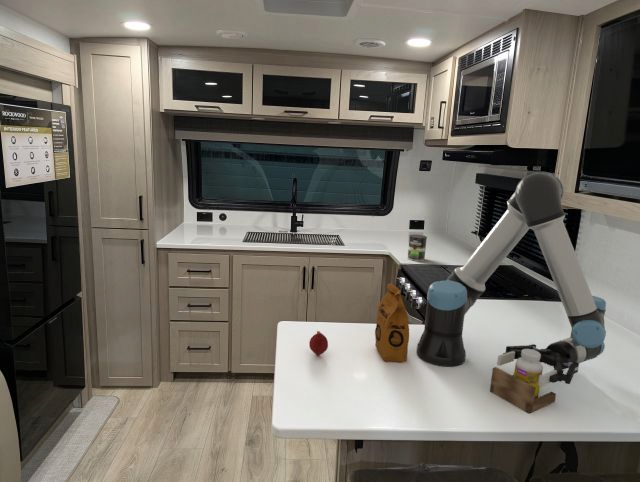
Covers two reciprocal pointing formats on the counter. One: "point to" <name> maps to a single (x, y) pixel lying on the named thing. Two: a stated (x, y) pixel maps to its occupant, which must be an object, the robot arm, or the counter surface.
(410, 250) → the coffee can
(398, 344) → the coffee package
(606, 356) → the counter surface
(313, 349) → the onion
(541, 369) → the supplement bottle
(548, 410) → the counter surface
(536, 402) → the u-shaped wooden bracket
